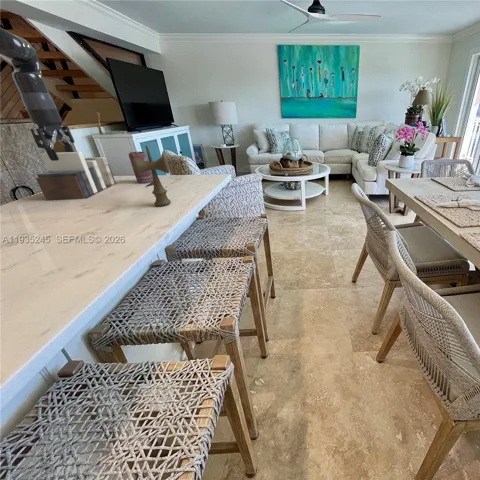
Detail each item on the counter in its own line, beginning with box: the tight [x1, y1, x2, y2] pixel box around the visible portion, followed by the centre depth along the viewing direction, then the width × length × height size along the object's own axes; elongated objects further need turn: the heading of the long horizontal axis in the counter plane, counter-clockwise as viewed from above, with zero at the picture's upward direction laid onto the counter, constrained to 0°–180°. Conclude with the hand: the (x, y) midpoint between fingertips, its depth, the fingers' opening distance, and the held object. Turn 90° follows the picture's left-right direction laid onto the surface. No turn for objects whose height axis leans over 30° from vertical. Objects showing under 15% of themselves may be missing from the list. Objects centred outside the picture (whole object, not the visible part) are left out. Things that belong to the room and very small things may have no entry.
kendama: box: [133, 145, 172, 207], centre depth 89 cm, size 6×10×20 cm, turn 113°
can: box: [128, 150, 154, 187], centre depth 114 cm, size 6×6×14 cm
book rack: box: [35, 156, 118, 202], centre depth 102 cm, size 14×22×12 cm, turn 9°
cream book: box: [40, 151, 98, 193], centre depth 98 cm, size 12×2×15 cm, turn 99°
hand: (63, 158), depth 95 cm, fingers open, 8 cm apart
